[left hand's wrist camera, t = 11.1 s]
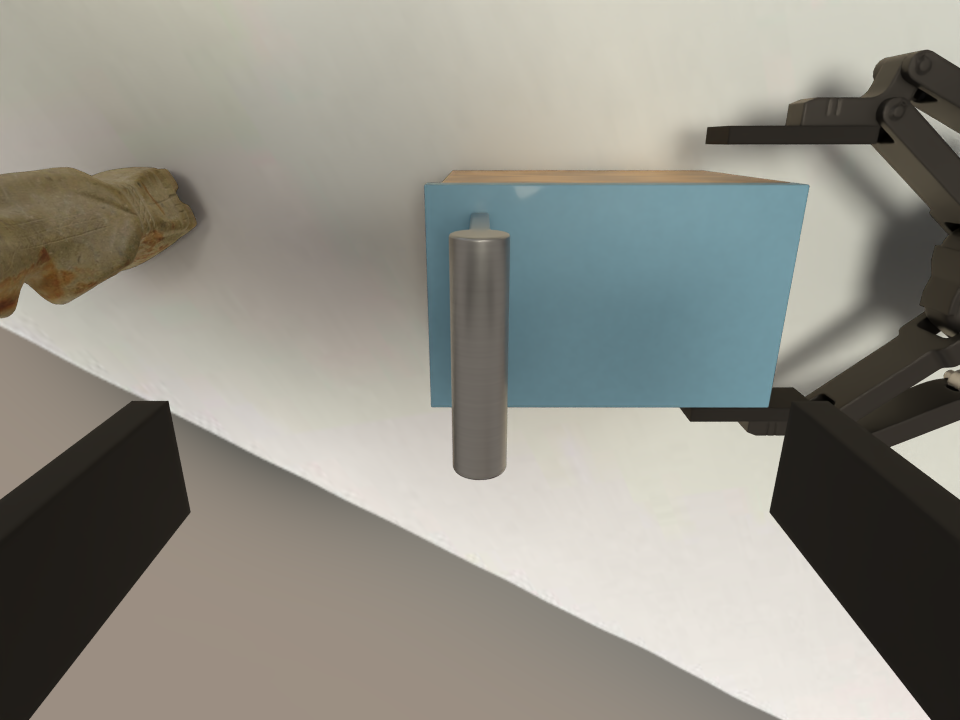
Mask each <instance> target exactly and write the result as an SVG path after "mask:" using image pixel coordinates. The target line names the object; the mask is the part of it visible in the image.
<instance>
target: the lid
mask: <svg viewBox="0 0 960 720" xmlns="http://www.w3.org/2000/svg"><path fill="white" fill-rule="evenodd" d="M808 191H809V185H807V184H799V183H427V184H425V185H424V195H425V227H426V259H427V291H428V323H429V354H430V386H431V407H452V442H453V468H454V470H455V471H456V473H457V474H459V475H460V476H462V477H465V478H468V479H473V480H487V479H491V478H495V477H497V476H499V475H501V474H502V473H503V472H504V470H505V468H506V456H507V407H768V406H769V401H770V396H771V390H772V385H773V379H774V374H775V369H776V363H777V358H778V352H779V347H780V342H781V336H782V331H783V325H784V320H785V315H786V309H787V304H788V299H789V293H790V288H791V282H792V277H793V272H794V266H795V261H796V255H797V250H798V245H799V239H800V234H801V228H802V223H803V218H804V212H805V207H806V202H807V196H808Z"/></svg>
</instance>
